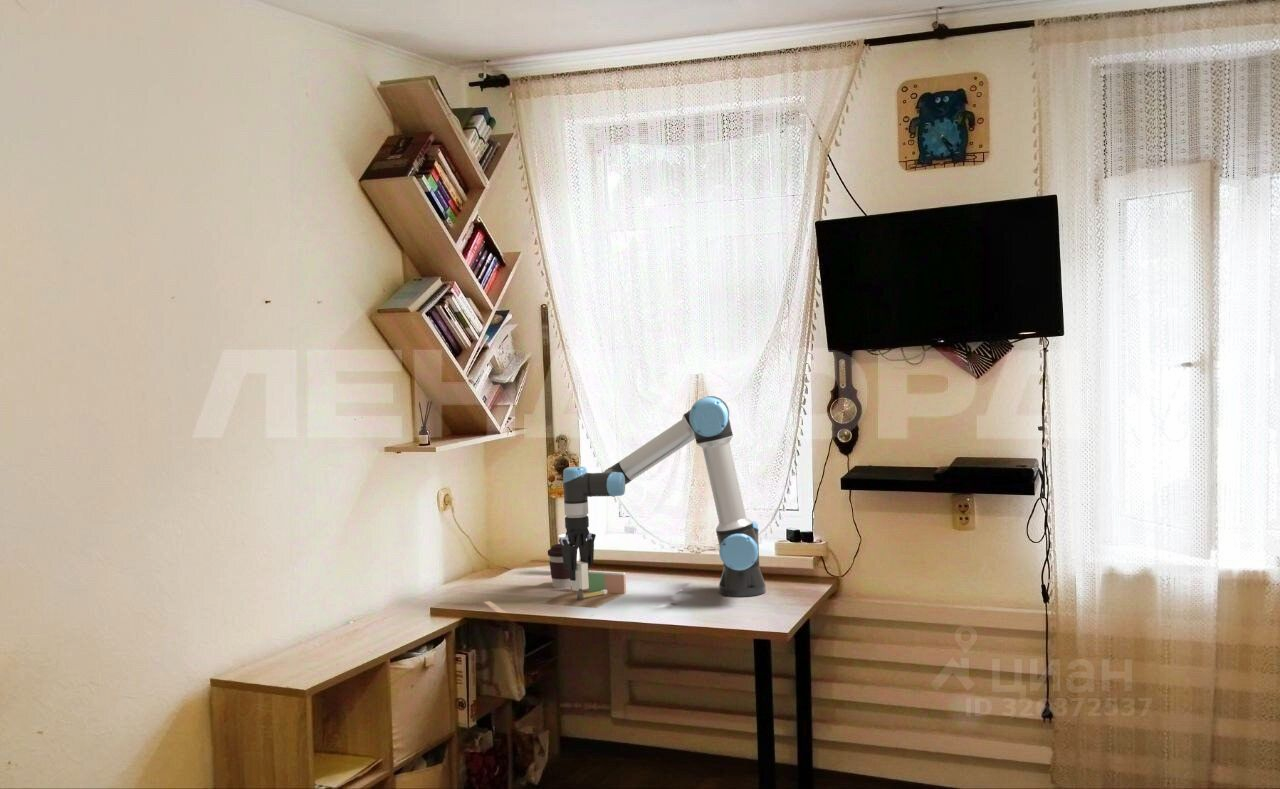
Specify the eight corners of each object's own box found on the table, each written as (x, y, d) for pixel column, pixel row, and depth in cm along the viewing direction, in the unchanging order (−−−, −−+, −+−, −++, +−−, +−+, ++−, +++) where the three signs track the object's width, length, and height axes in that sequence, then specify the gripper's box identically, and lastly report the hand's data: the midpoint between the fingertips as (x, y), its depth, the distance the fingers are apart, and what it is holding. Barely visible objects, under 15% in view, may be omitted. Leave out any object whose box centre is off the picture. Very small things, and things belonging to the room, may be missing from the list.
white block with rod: (582, 602, 319) (581, 564, 319) (571, 598, 325) (569, 561, 325) (612, 596, 326) (610, 559, 325) (600, 592, 331) (598, 556, 331)
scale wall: (626, 592, 330) (625, 572, 330) (624, 593, 329) (623, 573, 328) (572, 589, 339) (571, 569, 338) (570, 590, 337) (569, 570, 337)
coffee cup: (560, 593, 338) (558, 548, 338) (543, 589, 346) (541, 545, 345) (584, 588, 345) (582, 544, 344) (566, 584, 352) (564, 541, 352)
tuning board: (626, 596, 330) (626, 592, 330) (596, 611, 311) (595, 607, 311) (573, 592, 339) (573, 589, 339) (540, 607, 320) (540, 603, 320)
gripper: (588, 511, 330) (591, 583, 331) (549, 518, 320) (552, 592, 320) (603, 513, 325) (606, 586, 325) (564, 520, 314) (567, 595, 315)
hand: (579, 589), depth 323 cm, fingers closed on white block with rod, 3 cm apart
